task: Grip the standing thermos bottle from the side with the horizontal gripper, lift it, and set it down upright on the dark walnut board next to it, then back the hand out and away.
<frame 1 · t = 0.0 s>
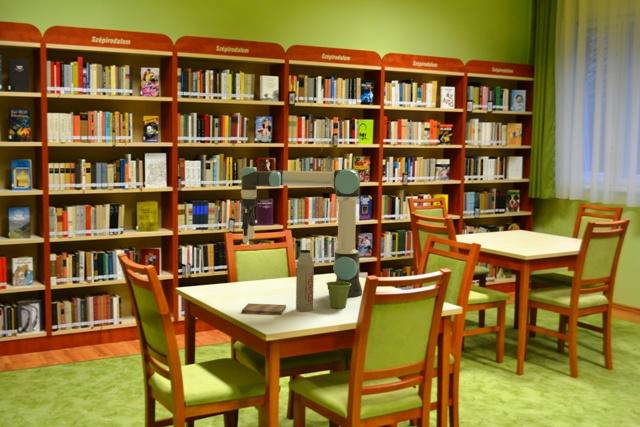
hand: (248, 240, 377), 28 cm above the table, tool pointing down, fingers open, 13 cm apart
plant pot: (338, 307, 357), on the table
thermos bottle: (304, 310, 350), on the table
walnut board: (264, 310, 347), on the table
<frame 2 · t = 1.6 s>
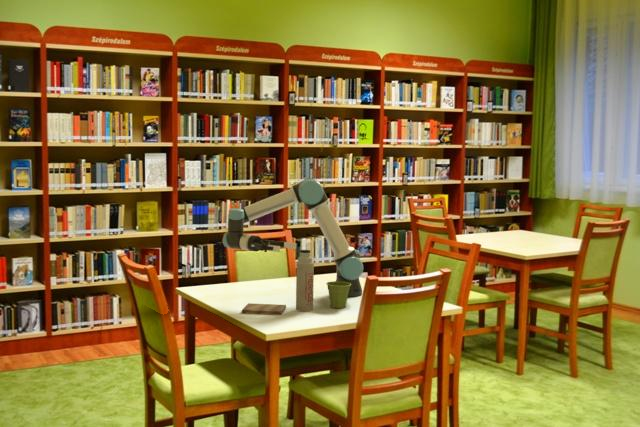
hand: (287, 247, 352), 28 cm above the table, tool horizontal, fingers open, 13 cm apart
nothing on the table moved.
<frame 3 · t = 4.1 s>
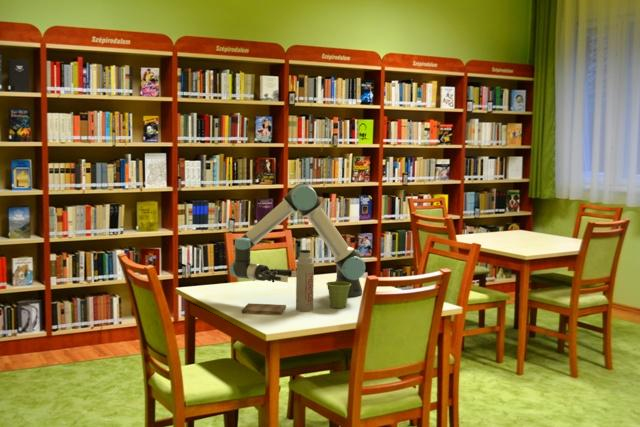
hand: (295, 277, 350), 15 cm above the table, tool horizontal, fingers open, 13 cm apart
nothing on the table moved.
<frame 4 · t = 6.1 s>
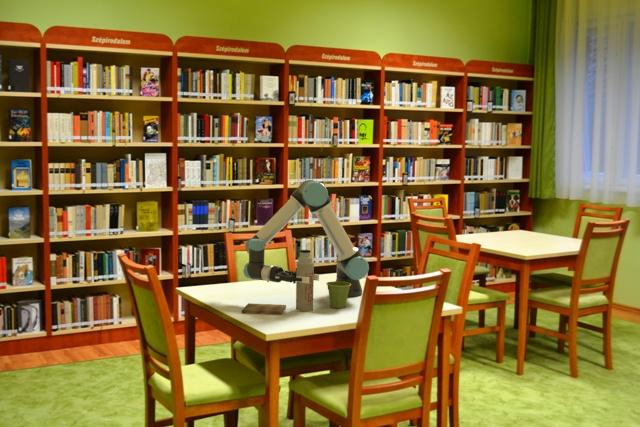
hand: (313, 279, 346), 15 cm above the table, tool horizontal, fingers closed on thermos bottle, 8 cm apart
thermos bottle: (304, 310, 350), on the table, touching gripper
everything else where it was.
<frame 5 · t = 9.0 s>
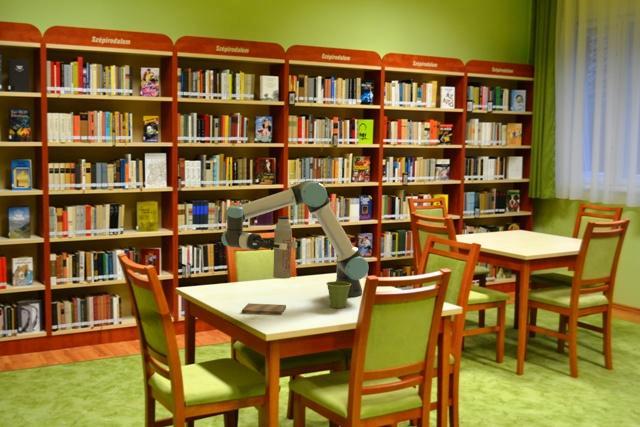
hand: (291, 245, 343), 30 cm above the table, tool horizontal, fingers closed on thermos bottle, 8 cm apart
thermos bottle: (281, 277, 346), point 15 cm above the table, touching gripper
everything else where it was.
when the fingers open (18 cm above the table, at t = 12.1 s): thermos bottle drops 1 cm, resting on walnut board.
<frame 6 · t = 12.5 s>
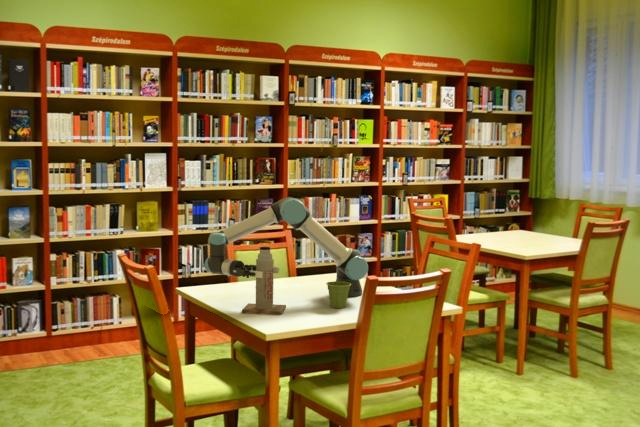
hand: (270, 272, 343), 18 cm above the table, tool horizontal, fingers open, 13 cm apart
thermos bottle: (264, 307, 347), point 1 cm above the table, touching walnut board
everything else where it was.
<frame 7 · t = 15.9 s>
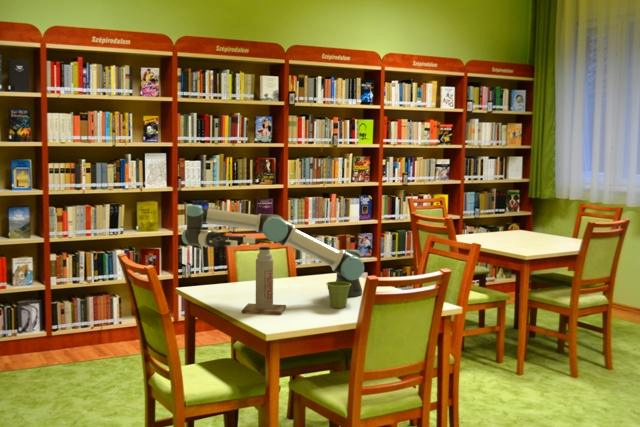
hand: (245, 242, 349), 31 cm above the table, tool horizontal, fingers open, 13 cm apart
nothing on the table moved.
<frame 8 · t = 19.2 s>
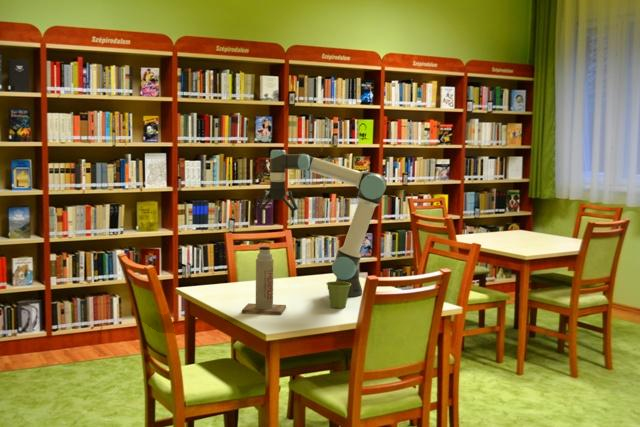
hand: (277, 223, 376), 37 cm above the table, tool pointing down, fingers open, 13 cm apart
nothing on the table moved.
at the end: thermos bottle 0.1 cm from the walnut board (horizontally); thermos bottle tilted 0°; thermos bottle touching walnut board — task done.
